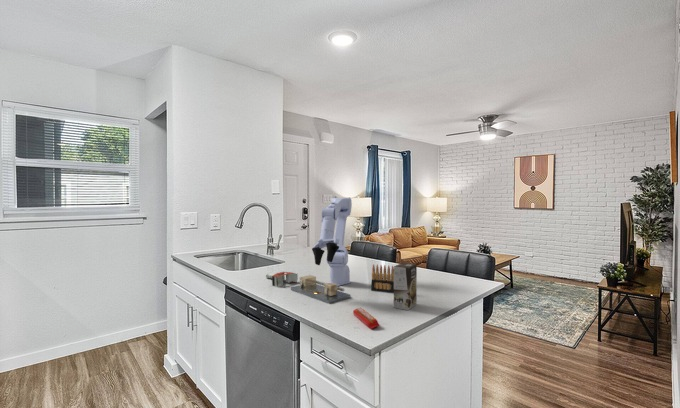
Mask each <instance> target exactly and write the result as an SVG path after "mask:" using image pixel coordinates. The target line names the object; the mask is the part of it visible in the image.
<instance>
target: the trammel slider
mask: <svg viewBox="0 0 680 408" xmlns="http://www.w3.org/2000/svg"><path fill="white" fill-rule="evenodd" d="M324 287H325V294H326V295H329V296H333V295H336V294H337V291H338V290H337V287H338V286H337V284H334V283H327V284H325V286H324Z"/></svg>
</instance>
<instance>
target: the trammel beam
mask: <svg viewBox="0 0 680 408" xmlns="http://www.w3.org/2000/svg"><path fill="white" fill-rule="evenodd" d="M316 284H318V285H321V286H324V287H325V284H327V283H326V282H323V281H320V280H317V276H315V275H311V274H309V275H308V274H307V275H304V276H303V275H302V276H300V277H299V285H300V286H301V287H304V288H308V287H312V286H316ZM337 291H340V292H345V291H346V290H345V287H344V288H343V287H340V286H337Z"/></svg>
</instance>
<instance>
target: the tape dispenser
mask: <svg viewBox="0 0 680 408" xmlns="http://www.w3.org/2000/svg"><path fill="white" fill-rule="evenodd" d="M298 274H299V273H295V272H289V271H281V272H280V271H279V272H276V273H271V272H269V273H266V274H265V277H266V279H270V280H271V285H272V286H273V287H275V288H280V287H283V286H284V282H283V281H285V282H286V283H287V284H288V283H289V284H294V282H295V283H297V282H298V279H299V277H298V276H299V275H298Z"/></svg>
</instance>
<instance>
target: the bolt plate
mask: <svg viewBox="0 0 680 408" xmlns="http://www.w3.org/2000/svg"><path fill="white" fill-rule="evenodd" d="M290 291H293V292H295V293H298V294H301V295H304V296H307V297H309V298H312V299H315V300H318V301H321V302H324V303H326V304H328V303H330V304H333V303H337V302H339V301H343V300H346V299H350V298H351V297H352V295H351V294H350V293H346V292H345V291H340V290H337V294H336V295H333V296H329V295H326V294H325V286H323V285H320V284H317V283H316V286H312V287H308V288H304V287H301V286H300V284H299V285H296V286H291V287H290Z"/></svg>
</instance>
